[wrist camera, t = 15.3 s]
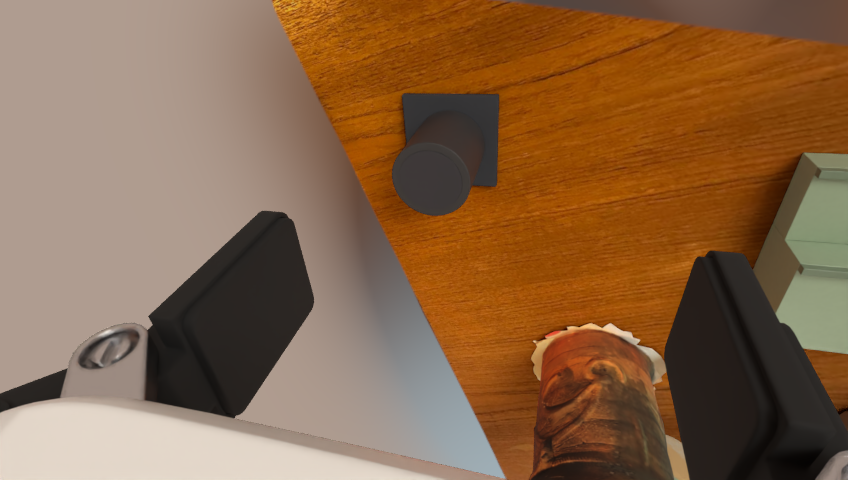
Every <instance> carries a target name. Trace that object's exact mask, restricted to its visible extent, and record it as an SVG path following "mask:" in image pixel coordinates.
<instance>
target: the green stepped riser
mask: <svg viewBox="0 0 848 480" xmlns="http://www.w3.org/2000/svg"><path fill="white" fill-rule="evenodd" d="M753 272H754V274H755V276H756V278H757V279H758V281H759V283H760V285H761V287H762V289H763V291H764V293H765V295H766V297H767V299H768V301H769V303H770V304H771V306H772V308H773V310H774V312H775V314H776V316H777V318H778V320H779V322H780V323H785V324H786V325H788V326H790V328H791V329H792V330H793V332H794V333H795V335H796V337H797V339H798V341H799V342H800V344H801V346H802V348H805V349H812V350H820V351H828V352H836V353H844V354H848V154H826V153H803V154H802V156H801V159H800V161H799V163H798V166H797V168H796V170H795V173H794V175H793V177H792V180H791V182H790V184H789V187H788V189H787V191H786V194H785V196H784V198H783V201H782V203H781V205H780V208H779V210H778V212H777V215H776V217H775V219H774V222H773V224H772V226H771V228H770V231H769V233H768V235H767V238H766V240H765V242H764V245H763V247H762V249H761V252H760V254H759V256H758V259H757V261H756V263H755V266H754V268H753Z"/></svg>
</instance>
